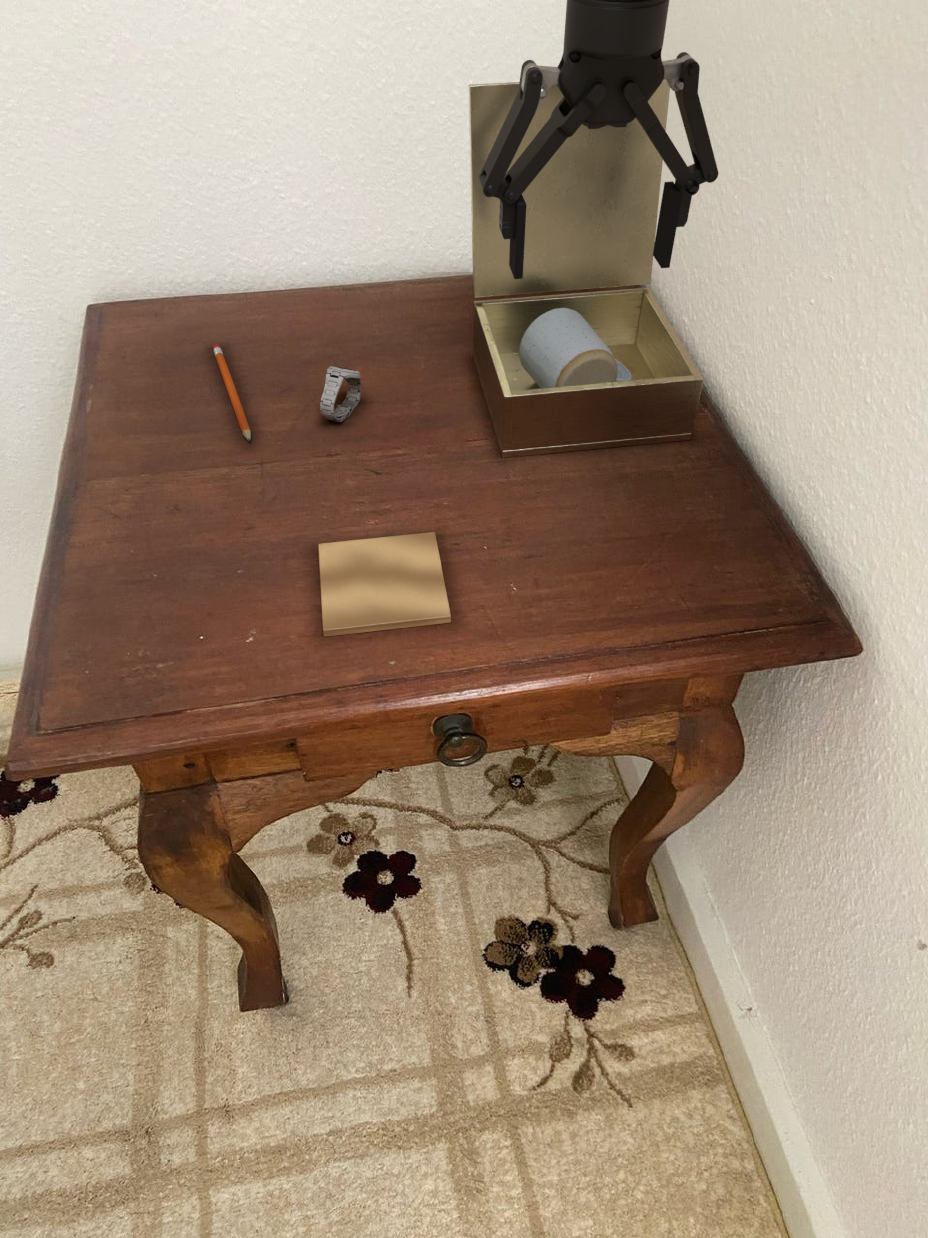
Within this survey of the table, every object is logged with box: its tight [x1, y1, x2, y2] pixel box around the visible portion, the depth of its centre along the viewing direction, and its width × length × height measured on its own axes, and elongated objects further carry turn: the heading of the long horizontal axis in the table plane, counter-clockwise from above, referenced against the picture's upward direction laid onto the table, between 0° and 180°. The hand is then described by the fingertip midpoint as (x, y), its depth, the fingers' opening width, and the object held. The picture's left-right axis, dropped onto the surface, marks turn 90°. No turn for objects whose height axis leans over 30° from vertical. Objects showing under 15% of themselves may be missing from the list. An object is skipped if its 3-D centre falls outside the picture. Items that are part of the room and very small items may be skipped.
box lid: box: [468, 79, 671, 298], centre depth 86 cm, size 19×19×5 cm
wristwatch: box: [319, 365, 363, 423], centre depth 86 cm, size 4×6×5 cm, turn 158°
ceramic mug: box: [519, 308, 632, 389], centre depth 86 cm, size 11×8×8 cm
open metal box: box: [473, 287, 705, 459], centre depth 87 cm, size 18×19×7 cm
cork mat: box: [317, 531, 452, 638], centre depth 71 cm, size 10×10×1 cm
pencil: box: [212, 343, 252, 444], centre depth 90 cm, size 1×19×1 cm, turn 21°
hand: (588, 266), depth 80 cm, fingers open, 13 cm apart
